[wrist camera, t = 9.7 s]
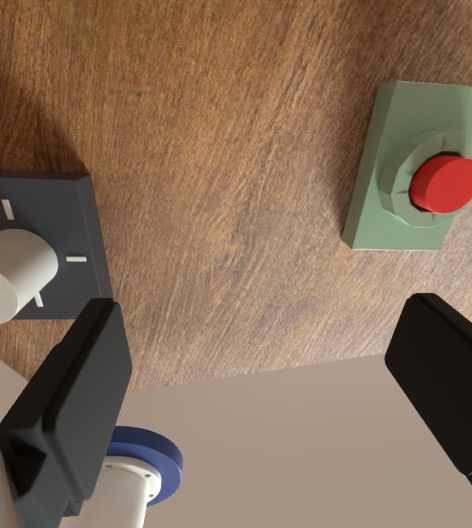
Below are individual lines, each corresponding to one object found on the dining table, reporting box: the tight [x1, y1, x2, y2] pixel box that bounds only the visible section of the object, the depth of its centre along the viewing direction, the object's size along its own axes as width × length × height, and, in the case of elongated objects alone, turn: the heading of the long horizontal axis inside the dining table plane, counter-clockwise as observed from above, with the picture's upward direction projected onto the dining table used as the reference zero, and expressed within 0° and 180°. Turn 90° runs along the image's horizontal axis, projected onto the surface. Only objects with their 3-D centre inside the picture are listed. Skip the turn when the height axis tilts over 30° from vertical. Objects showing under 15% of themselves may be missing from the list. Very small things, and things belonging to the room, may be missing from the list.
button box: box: [341, 80, 472, 251], centre depth 21 cm, size 12×8×4 cm, turn 177°
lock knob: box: [0, 229, 58, 324], centre depth 19 cm, size 5×5×5 cm
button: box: [410, 155, 472, 214], centre depth 19 cm, size 4×4×2 cm
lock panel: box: [0, 170, 114, 320], centre depth 22 cm, size 12×10×3 cm
